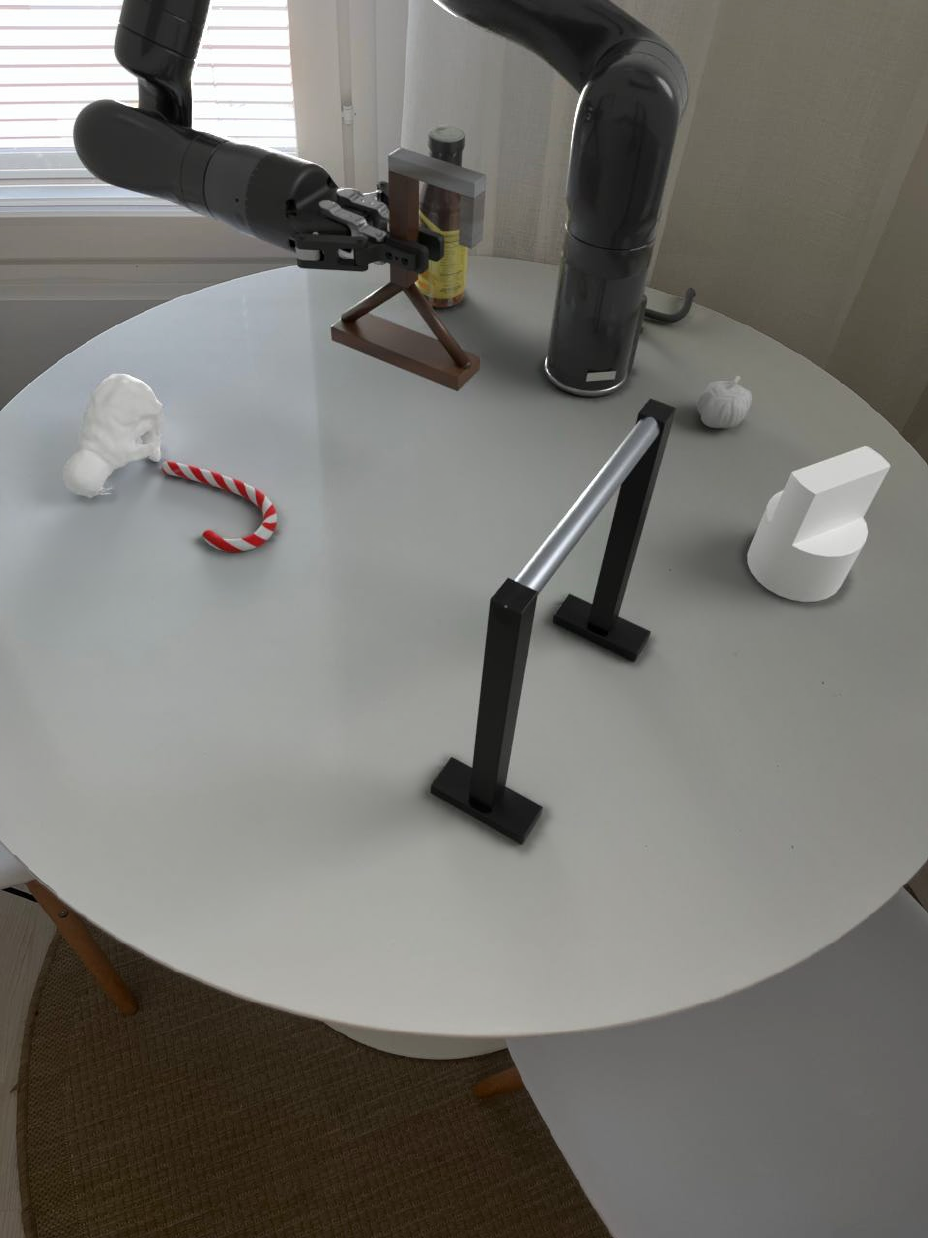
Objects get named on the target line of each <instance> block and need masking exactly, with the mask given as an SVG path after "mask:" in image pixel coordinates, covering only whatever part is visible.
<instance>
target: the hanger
mask: <svg viewBox="0 0 928 1238" xmlns="http://www.w3.org/2000/svg"><path fill="white" fill-rule="evenodd" d="M387 160H388V161H387V169H388V172H387V175H388V180H387V182H388V183H389V223H388V228H389V229H388V231H389V235H391V234H393V235H396V236H399V237H401V238H404V239H407V240H410V241H413V242H416V243H419V193H420V182H422V183H423V182H425V183H428V184H431V185H434V186H437V187H440V188H443V189H446V190H449V191H452V192H455V193H458V194H461V204H460V227H459V245H462V246H465V247H468V249H473V248H474V247H475V246H477V245H478V244H479V243H480V242H482V241H483V236H484V223H485V222H484V221H485V208H486V207H485V205H486V193H487V192H486V190H487V189H486V188H487V174H485V173H482V172H479V171H476V170H473V169H470V168H466V167H463V166H462V167H461V166H457V165H454V164H451V163H448V162H445V161H442V160H439V159H435V158H432V157H429V155H426V154H423V153H420V152H416V151H413V150H410V149H406V148H404V147H399V148H397V149H396V150H394V151H393V152H391V153H389V154H388V156H387ZM418 277H419V274H418V273H415V272H413V271H408V270H405V269H403V268H400V267H397V266H394V265H391V264H389V282H387V283H386V284H385V285H383V286H381V287H380V288H378V289H377V290H375V291H374V292H372V293H371V294H370V295H367V296H366V297H365V298H363V299H361V300H360V301H359V302H357V303H356V304H354V305H352V306H351V307H350V308H348V309H347V310H345V311H344V312H343V313H341V315H340V318H339V319H338V320H337V321H335V322H334V323H333V324H332V325H330V337H331V341H332V342H335V343H337V344H340V345H341V346H345V347H347V348H350V349H353V350H355V351H356V352H360V353H362V354H364V355H367V356H370V357H372V358H374V359H377V360H379V361H382V362H385V363H386V364H389V365H391V366H394V367H397V368H398V369H401V370H403V371H406V372H409V373H411V374H414V375H416V376H418V377H420V378H424V379H425V380H428V381H431V382H433V383H435V384H438V385H441V386H443V387H446V388H448V389H450V390H452V391H455V392H459V390H460V389H462V388H463V387H464V386H465V385H466V384H467V383H468V382H469V381H470V380H471V379H472V378H473V377H474V376H475V375H476V374H477V373H478V372H479V371H480V370H481V358H482V357H481V355H478V354H476V353H474V352H471V351H468V350H466V349H463V348H462V347H461V346H460V344H459V343H458V342H457V340H456V339H455V337H454V335H452V333H451V332H450V331H449V329H448V328H447V325H445V324H444V322H443V320H442V319H441V318H440V316H439V315H438V314H437V312H436V311H435V310H434V307H433V306H431V305H430V304H429V303H428V301H427V300H426V298H425V297H424V296H423V294H422V293H421V291H420V290H419V289H418V287H417V286H416V284H415V282H416V281H417V280H418ZM402 292H403V293H404V294H405V296H406V297H407V298H408V300H409V302H410V303H411V304H412V305H413V307H414V308H415V310H416V311H417V312H418V314H419V315H420V316H421V318H422V319H423V321H424V322H425V323H426V325H427V326H428V328H429V330H430V331H431V332H432V333H433V335H434V336H435V337H436V338H434V337H432V336H429V335H427V334H425V333H422V332H419V331H416V330H414V329H411V328H409V327H406V326H404V325H401V324H399V323H396V322H393V321H391V320H388V319H386V318H383V317H381V316H378V315H376V314H373V313H370V312H372V311H373V310H375V309H376V308H378V307H379V306H381V305H383V304H384V303H386V302H387V301H389V300H390V299H392V298H393V297H395V296H396V295H398V294H400V293H402Z"/></svg>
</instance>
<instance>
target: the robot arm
mask: <svg viewBox="0 0 928 1238" xmlns="http://www.w3.org/2000/svg"><path fill="white" fill-rule="evenodd" d="M433 2H435V3H436V5H438V6H439V7H441V8H442V9H443V10H445V11H446V12H448V13H449V14H450V15H452V16H454V17H455V18H458V19H459V20H461V21H463V22H465V23H467V24H469V25H471V26H472V27H475V28H477V29H479V30H482V31H484V32H486V33H488V34H491V35H493V36H495V37H497V38H500V39H503V40H505V41H507V42H509V43H512V44H514V45H517V46H519V47H521V48H523V49H524V50H526V51H528V52H530V53H532V54H533V55H535V56H536V57H537V58H539V59H540V60H542V61H543V62H544V63H545V64H547V66H549V67H550V68H551V69H553V70H554V71H555V72H556V73H557V74H558V75H559V76H560V77H561V78H562V79H564V80H565V81H566V83H568V84H569V85H570V87H572V88H573V89H574V91H576V93H577V94H578V95H579V97H578V102H577V104H576V109H575V115H574V119H573V120H574V121H573V127H572V136H571V143H570V150H569V161H568V170H567V178H566V186H565V202H566V208H567V209H566V215H565V225H564V231H563V239H562V246H561V247H562V248H561V255H560V260H559V261H560V262H559V267H558V276H557V283H556V288H555V289H556V291H555V296H554V302H553V303H554V304H553V312H552V318H551V325H550V332H549V340H548V345H547V353H546V358H545V363H544V373H545V376H546V377H547V379H548V380H549V381H550V382H551V383H552V384H553V385H554V386H555V387H557V388H558V389H560V390H562V391H563V392H565V393H566V392H567V393H569V394H572V395H577V396H579V397H602V396H608V395H611V394H612V393H615V392H618V391H619V390H620V389H621V388H622V387H623V386H624V384H625V383H626V380H627V376H628V374H630V373H632V371H633V366H634V362H635V357H636V354H637V348H638V345H639V340H640V336H641V334H642V333H643V331H644V327H643V322H644V319H645V317H646V318H648V319H652V320H654V321H658V322H661V323H666V324H668V323H669V324H672V323H676V322H680V321H682V320H683V319H684V318H685V317H686V316H687V315H688V314H689V312H690V310H691V308H692V305H693V301H694V297H696V296H697V295H696V294H697V292H696V290H695V289H694V288H693V287H689V288H687V289H686V291H685V297H684V302H683V305H682V307H681V308H680V310H679V311H677V312H676V313H672V314H671V313H664V312H660V311H657V310H654V309H651V308H648V307H647V304H648V297H647V295H646V294H645V291H646V286H647V281H648V277H649V272H650V267H651V262H652V258H653V253H654V250H655V244H656V240H657V235H658V231H659V228H660V227H659V226H660V222H661V217H662V213H663V212H662V211H663V208H662V207H663V200H664V195H665V194H664V193H665V189H666V185H667V181H668V176H669V171H670V166H671V163H672V157H673V153H674V149H675V144H676V140H677V135H678V132H679V128H680V126H681V123H682V120H683V117H684V115H685V112H686V111H687V110H686V109H687V107H688V102H689V98H690V90H691V89H690V88H691V87H690V77H689V72H688V70H687V67H686V65H685V64H686V63H685V62H684V60H683V57H682V56H681V55H680V53H679V52H678V51H677V50H676V49H675V47H674V46H673V45H672V44H671V43H670V42H669V41H667V39H665V38H664V37H662V36H661V35H660V34H658V33H657V32H655V30H653V29H652V28H650V27H648V26H647V25H646V24H644V23H643V22H642V21H640V20H639V19H637V18H636V17H635V16H634V15H631V14H630V12H627V11H626V10H625V9H623V8H622V7H620V6H619V5H618V4H616V3H615V2H614V1H612V0H433ZM121 4H122V5H121V9H120V14H119V19H118V23H117V26H116V27H117V28H116V31H115V37H114V45H113V52H114V57H115V59H116V62H118V64H119V65H120V66H121V67H122V68H123V69H124V70H125V71H127V72H128V73H129V74H131V75H132V76H134V77H136V79H137V86H138V87H137V89H138V90H137V91H138V105H137V106H135V105H133V104H129V103H125V102H122V101H119V100H116V99H109V98H108V99H107V98H106V99H105V98H104V99H98V100H95V101H93V102H90V103H89V104H87V105H86V106H84V107H83V108H82V110H81V111H79V113H78V114H77V116H76V118H75V120H74V125H73V129H72V139H73V146H74V149H75V153H76V154H77V157H78V159H79V160H80V162H81V164H82V165H83V166H84V168H85V169H86V170H87V171H88V172H89V173H90V174H91V175H92V176H94V177H95V178H96V179H98V180H99V181H101V182H103V183H105V184H107V185H111V186H113V187H117V188H120V189H124V190H127V191H131V192H133V193H138V194H142V195H145V196H149V197H152V198H156V199H161V200H165V201H168V202H171V203H173V204H175V205H178V206H181V207H182V208H185V209H187V210H189V211H190V212H193V213H196V214H197V215H201V216H204V217H207V218H209V219H212V220H214V221H217V222H220V223H222V224H224V225H226V226H228V227H229V228H231V229H233V230H234V231H236V232H237V233H238V232H239V233H241V234H244V235H246V236H249V237H251V238H254V239H255V240H258V241H261V242H265V243H267V244H269V245H273V246H275V247H278V248H280V249H283V250H285V251H289V252H290V253H293V254H295V255H296V266H297V267H298V268H299V269H306V270H325V271H343V272H344V271H345V272H361V273H362V272H366V271H368V270H369V265H370V264H374V265H377V266H383V265H386V264H389V265H390V264H391V265H394V266H397V267H400V268H403V269H405V270H408V271H413V272H415V273H418V274H423V273H424V272H425V271H427V270H428V268H429V260H432V261H434V262H438V261H439V260H441V259H442V258H443V257H444V243H445V240H444V237H443V235H442V234H440V233H438V232H435V231H432V230H429V229H426V228H423V227H420V226H419V243H416V242H413V241H410V240H407V239H404V238H401V237H399V236H396V235H393V234H391V235H389V229H388V224H389V183H388V181H384V180H382V181H377V182H376V183H375V191H371V192H367V193H363V192H362V191H360V190H358V189H357V188H349V187H340V186H338V185H337V183H336V182H335V181H334V180H333V178H332V177H331V174H330V173H329V172H328V170H327V169H325V168H324V167H323V166H322V165H320V164H317V163H315V162H312V161H309V160H305V159H303V158H300V157H296V156H294V155H291V154H288V153H285V152H282V151H279V150H276V149H274V148H270V147H267V146H264V145H261V144H257V143H251V142H245V141H239V140H237V139H234V138H231V137H228V136H225V135H223V134H219V133H215V132H213V131H209V130H205V129H200V128H195V127H194V77H195V71H196V69H197V65H198V60H199V59H200V54H201V50H202V47H203V43H204V39H205V35H206V33H207V28H208V24H209V19H210V14H211V10H212V5H213V0H122V3H121ZM341 256H343V257H341Z"/></svg>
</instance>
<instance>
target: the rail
mask: <svg viewBox="0 0 928 1238" xmlns="http://www.w3.org/2000/svg"><path fill="white" fill-rule="evenodd" d="M676 411H677V407H674V406H672V405H669V404H666V403H664V402H661V401H659V400H656V399H653V398H649V399H647V401H646V403H644V404H643V406H642V407H641V408H640V410H639V411H638V413H637V418H636V421H635V423H634V426H633V428H632V429H631V431H630V432H629V433H628V434H627V436H626V437H625V438H624V439H623V441H622V442H621V444H619V446H618V447H617V449H615V450H614V452H613V454H612V455H611V456H610V457H609V459H608V460H607V461H606V463H605V464H604V465H603V466H602V468H601V469H600V470H599V472H598V473H597V474H596V475H595V477H594V478H593V479H592V480H591V481H590V483H589V484H588V485H587V487H586V488H585V489H584V490H583V492H582V493H581V494H580V496H579V497H578V498H577V499H576V501H575V502H574V503H573V504H572V506H570V509H569V510H568V511H567V512H566V514H565V515H564V516H563V517H562V519H561V520H560V521H559V522H558V524H557V525H556V526H555V527H554V529H553V530H552V531H551V532H550V534H549V535H548V536H547V537H546V539H545V540H544V541H543V543H542V544H541V545H540V547H539V548H538V549H537V550H536V552H535V553H534V554H533V555H532V557H531V558H530V559H529V561H528V562H527V563H526V564H525V565H524V566H523V568H522V570H521V571H519V573H518V574H517V576H516V577H515V578H514V579H512V578H510V577H506V578H505V580H504V581H503V582H502V584H501V585H500V586H499V587H498V589H496V591H495V593H494V594H493V595H492V596H491V597H490V599H489V607H488V617H487V627H486V634H485V643H484V644H485V646H484V656H483V662H482V663H483V664H482V672H481V673H482V674H481V681H480V682H481V683H480V690H479V691H480V692H479V702H478V708H477V709H478V710H477V719H476V728H475V737H474V747H473V756H472V766H469V764H468V765H467V764H465V763H464V762H463V761H460V760H458V759H457V758H455V757H454V756H450V758H449V759H448V760H447V762H446V763H445V764H444V766H443V767H442V768H441V770H440V772H439V773H438V774H437V776H436V777H435V779H433V781H432V783H431V784H430V794H432V795H433V796H435V797H437V798H439V799H440V800H441V801H444V802H445V803H448V804H449V805H450V806H453V807H455V808H456V809H458V810H460V811H461V812H463V813H465V814H467V815H469V816H470V817H472V818H474V819H476V820H478V821H479V822H480V823H482V824H484V825H486V826H488V827H490V828H491V829H493V830H495V831H497V832H498V833H500V834H502V835H504V836H505V837H507V838H509V839H510V840H513V841H514V842H516V843H518V844H520V845H522V846H523V845H524V844H525V842H526V841H527V838H529V835H530V834H531V832H532V831H533V829H534V827H536V824H537V822H538V821H539V819H540V817H541V816H542V814H543V809H544V808H543V806H542V805H540V804H538V803H536V802H535V801H533V800H531V799H529V798H528V797H526V796H524V795H522V794H520V793H519V792H516V791H515V790H514V789H512V788H510V787H508V786H506V785H507V779H508V773H509V767H510V762H511V755H512V751H513V745H514V738H515V732H516V726H517V720H518V714H519V710H520V709H519V708H520V702H521V696H522V691H523V685H524V679H525V673H526V667H527V661H528V656H529V649H530V643H531V639H532V638H531V637H532V632H533V625H534V620H535V619H534V618H535V614H536V613H535V612H536V607H537V601H538V596H539V595H540V593H541V592H542V591H543V590H544V588H545V587H546V585H547V584H548V583H549V581H550V580H551V579H552V578H553V576H554V574H555V573H556V572H557V571H558V569H560V567H561V566H562V564H563V563H564V562H565V560H566V559H567V557H568V556H569V555H570V553H571V552H572V551H573V550H574V548H575V547H576V546H577V545H578V543H579V542H580V540H581V539H582V537H583V536H584V535H585V533H586V532H587V531H588V530H589V528H590V527H591V526H592V524H593V523H594V521H595V520H596V519H597V518H598V516H599V515H600V514H601V512H602V511H603V510H604V508H605V507H606V505H607V504H608V503H609V501H610V500H611V499H612V498H613V496H614V495H615V493H616V492H617V491H618V489H619V492H618V496H617V499H616V504H615V507H614V512H613V516H612V520H611V523H610V528H609V532H608V537H607V541H606V545H605V549H604V554H603V558H602V561H601V565H600V571H599V575H598V579H597V582H596V587H595V591H594V594H593V599H592V603H591V602H589V601H586V600H585V599H582V598H581V597H578V596H576V595H574V594H572V593H568V594H567V595H566V597H565V598H564V600H563V601H562V602H561V604H560V605H559V606H558V608H557V609H556V610H555V612H554V614H553V616H552V621H551V622H552V624H553V625H556V626H558V627H560V628H562V629H563V630H566V631H569V632H570V633H572V634H574V635H577V636H579V637H581V638H583V639H585V640H587V641H589V642H591V643H593V644H596V645H597V646H599V647H602V648H604V649H606V650H608V651H610V652H612V653H614V654H615V655H619V657H623V658H624V659H627V660H629V661H631V662H633V663H635V662H636V661H637V659H638V658H639V656H640V654H641V653H642V651H643V649H644V647H645V646H646V644H647V643H648V642H649V640H650V636H651V633H652V631H651V630H649V629H647V628H644V627H643V626H640V625H638V624H636V623H633V622H632V621H630V620H627V619H626V618H623V617H621V616H619V615H620V613H621V609H622V605H623V601H624V597H625V594H626V591H627V586H628V583H629V579H630V576H631V572H632V569H633V565H634V562H635V558H636V554H637V551H638V548H639V545H640V541H641V536H642V532H643V529H644V526H645V522H646V518H647V515H648V512H649V508H650V504H651V502H652V497H653V494H654V490H655V488H656V483H657V480H658V476H659V473H660V468H661V465H662V462H663V459H664V455H665V450H666V447H667V444H668V440H669V437H670V433H671V429H672V426H673V422H674V420H675V415H676Z"/></svg>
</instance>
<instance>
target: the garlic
mask: <svg viewBox="0 0 928 1238" xmlns="http://www.w3.org/2000/svg"><path fill="white" fill-rule="evenodd" d="M740 380H741V376H739V375H736V376H735V378H734V379H733V381H730V380H729V381H727V380H720V381H712V382H710V383H709V384H708V385H707V387H706V388H705V389H704V391H703V392H702V393H701V395H700V396H699V398H698V400H697V403H696V409H697V411H698V413H699V415H700V420H701V422H702V423H703V424H704V425H705V426H707V427H709V428H711V429H731V428H735V427H736V426H738V425H740V423H741V422H742V421H743V419H744V418H745V417H746V416H747V414H748V412H749V410H750V408H751V405H752V402H753V395H752V392H751V391H750V390H749V389H747V388H745V387H743V386H741V385H740V384H738V382H739V381H740Z"/></svg>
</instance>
